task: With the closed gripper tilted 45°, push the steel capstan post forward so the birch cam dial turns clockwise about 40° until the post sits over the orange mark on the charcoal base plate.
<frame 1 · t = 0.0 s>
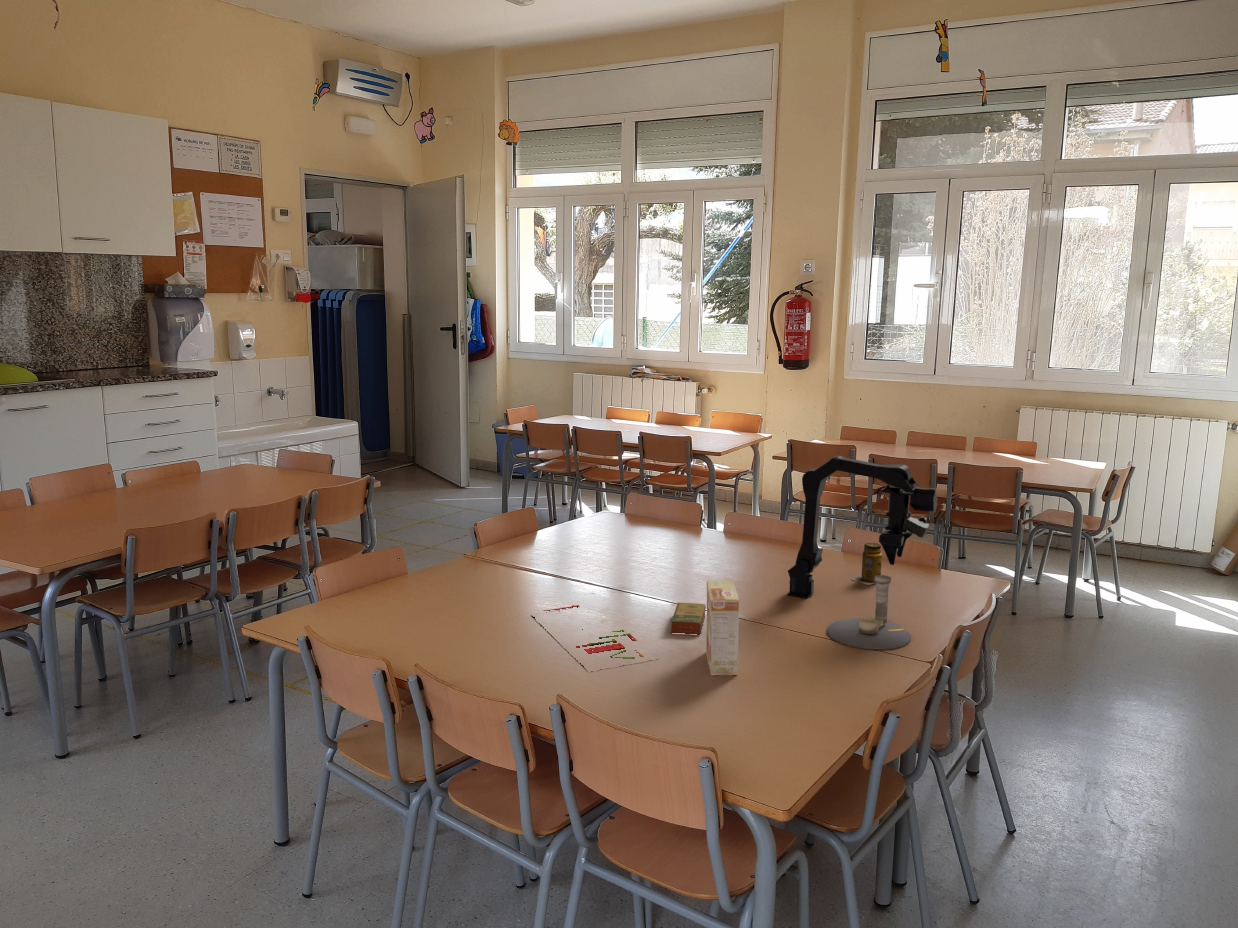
hand: (895, 560, 260), 15 cm above the table, tool pointing down, fingers open, 9 cm apart
dial plate: (868, 634, 242), on the table
carton: (688, 626, 251), on the table
condiment: (868, 581, 290), on the table
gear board: (590, 638, 243), on the table
cam dial: (875, 604, 244), point 8 cm above the table, hinge at 0.0°
coffeecake box: (721, 664, 224), on the table
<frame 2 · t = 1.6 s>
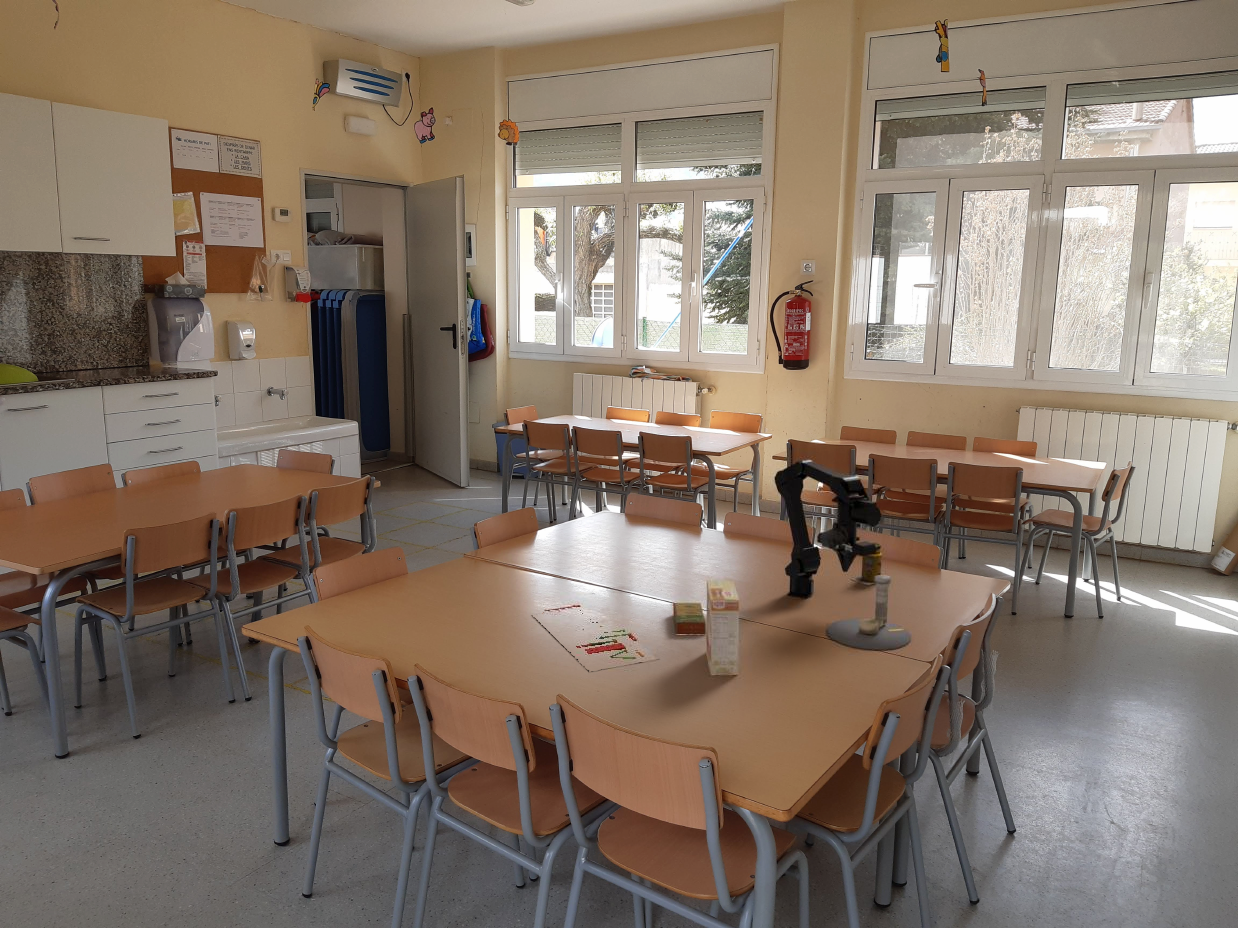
hand: (845, 571, 259), 12 cm above the table, tool pointing down, fingers closed
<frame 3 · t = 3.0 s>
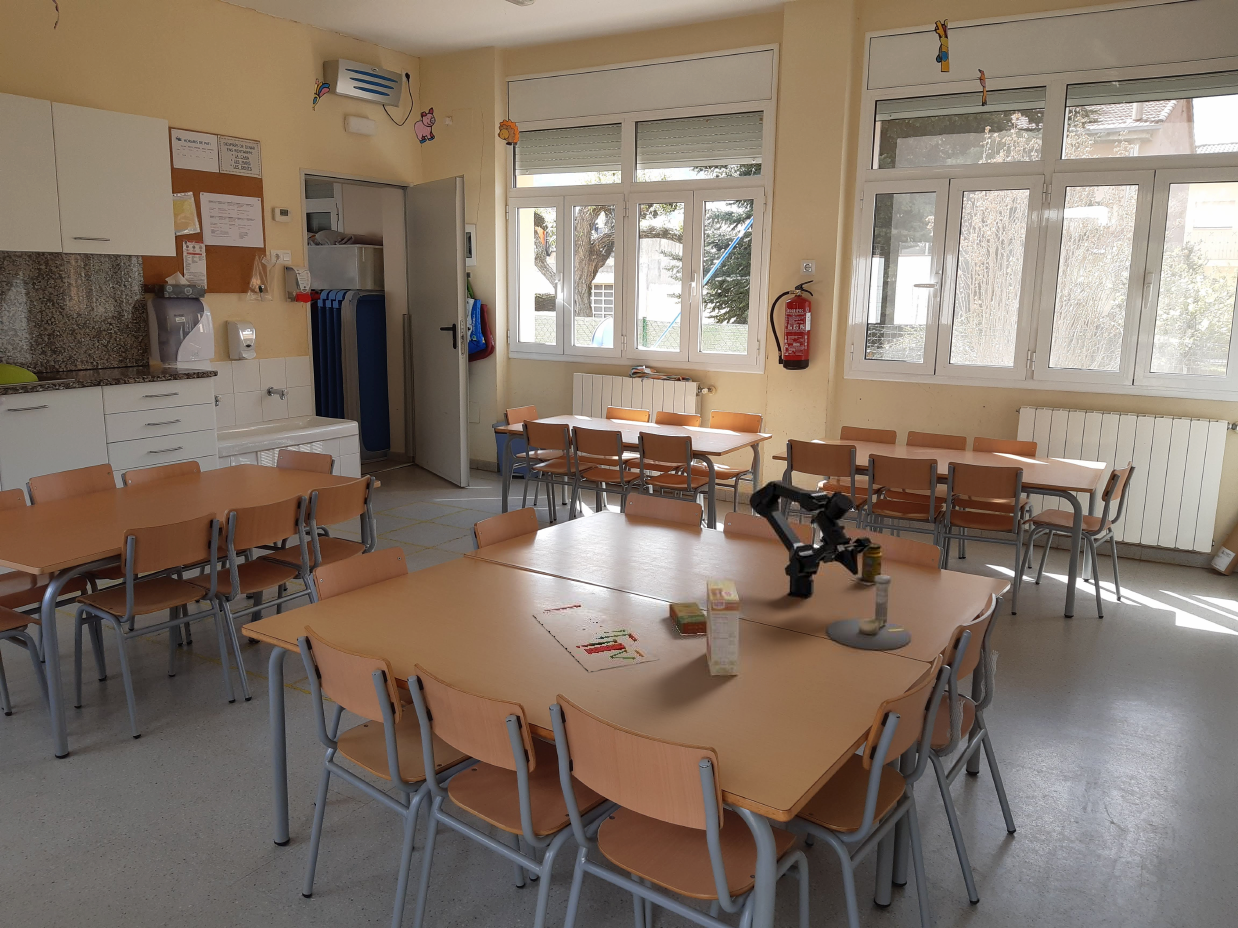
hand: (856, 574, 255), 12 cm above the table, tool tilted 45°, fingers closed
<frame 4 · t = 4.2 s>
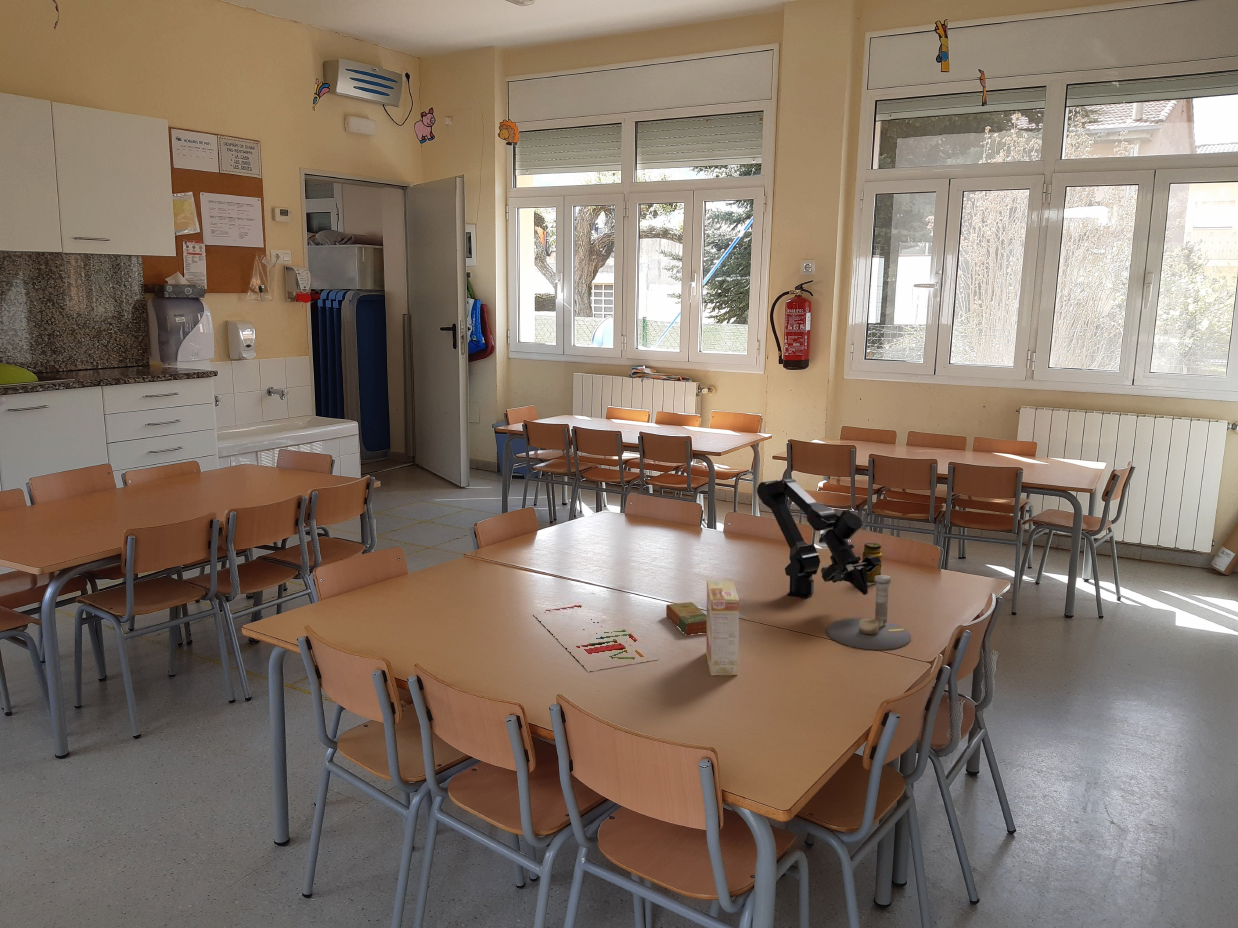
hand: (866, 594, 252), 8 cm above the table, tool tilted 45°, fingers closed
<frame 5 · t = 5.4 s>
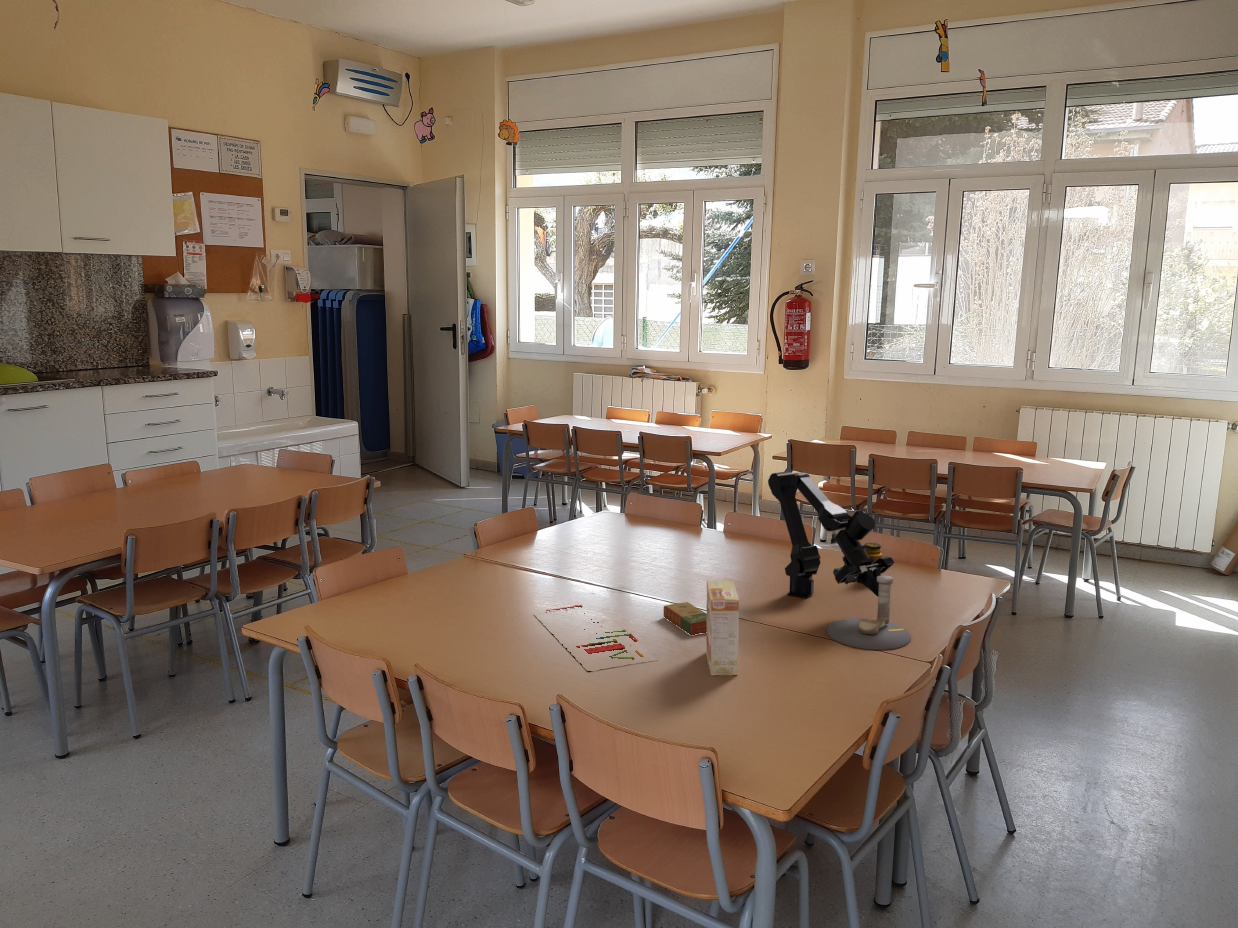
hand: (879, 595, 248), 8 cm above the table, tool tilted 45°, fingers closed, pressing on cam dial
cam dial: (876, 604, 244), point 8 cm above the table, hinge at -4.7°, touching gripper
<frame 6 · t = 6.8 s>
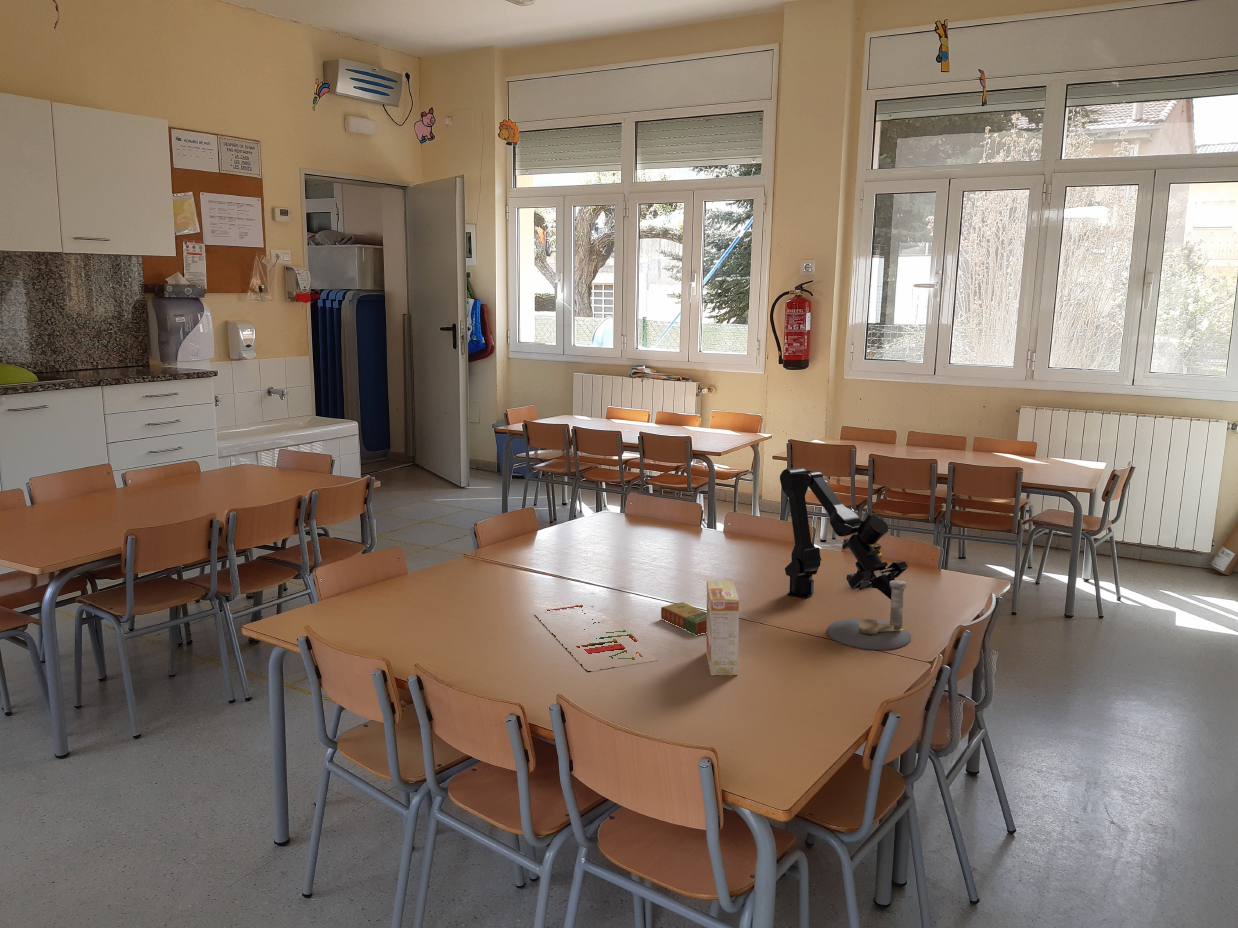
hand: (895, 600, 244), 8 cm above the table, tool tilted 45°, fingers closed, pressing on cam dial
cam dial: (882, 606, 242), point 8 cm above the table, hinge at -39.7°, touching gripper
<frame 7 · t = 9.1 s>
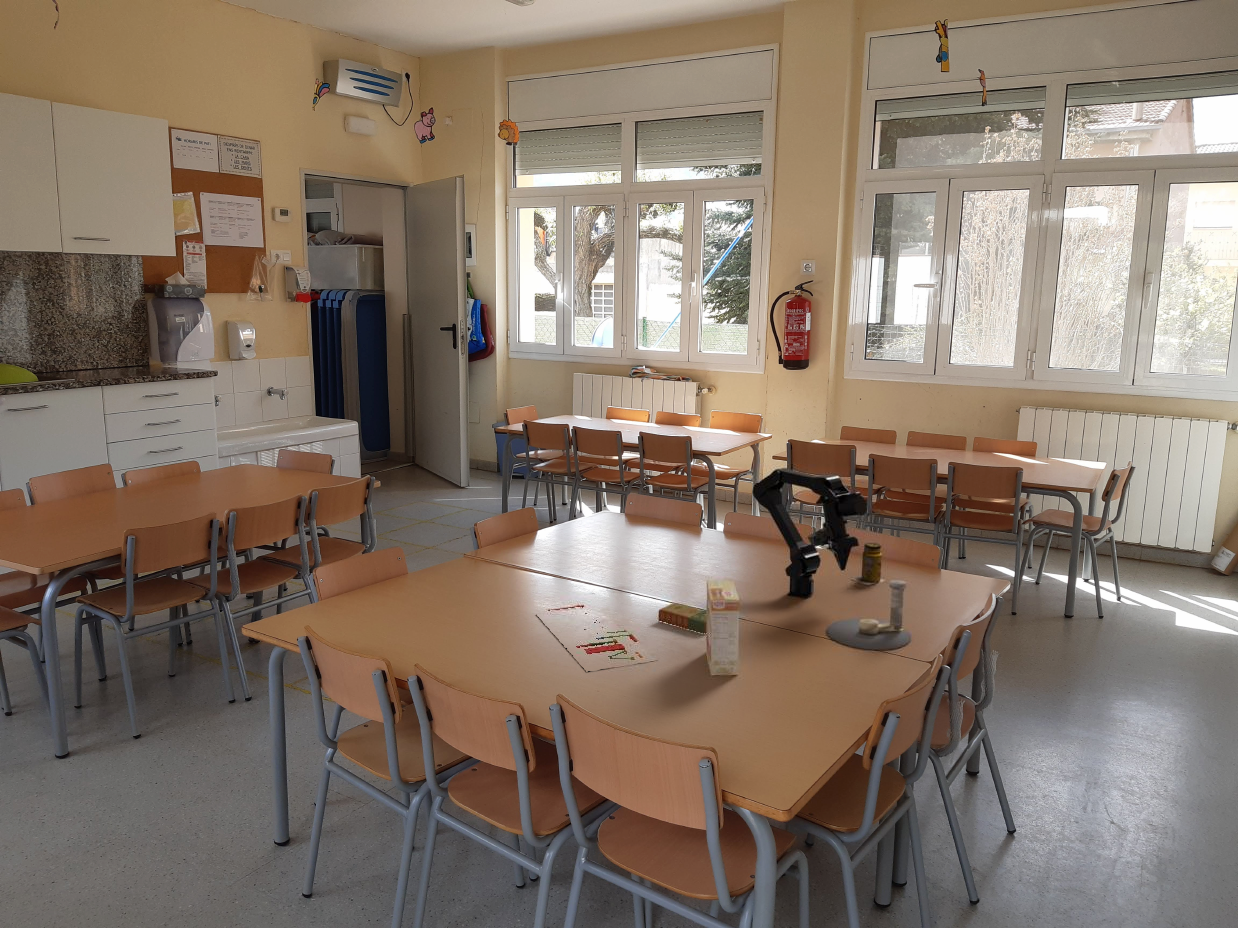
hand: (842, 570, 263), 11 cm above the table, tool pointing down, fingers closed
cam dial: (882, 606, 242), point 8 cm above the table, hinge at -39.7°
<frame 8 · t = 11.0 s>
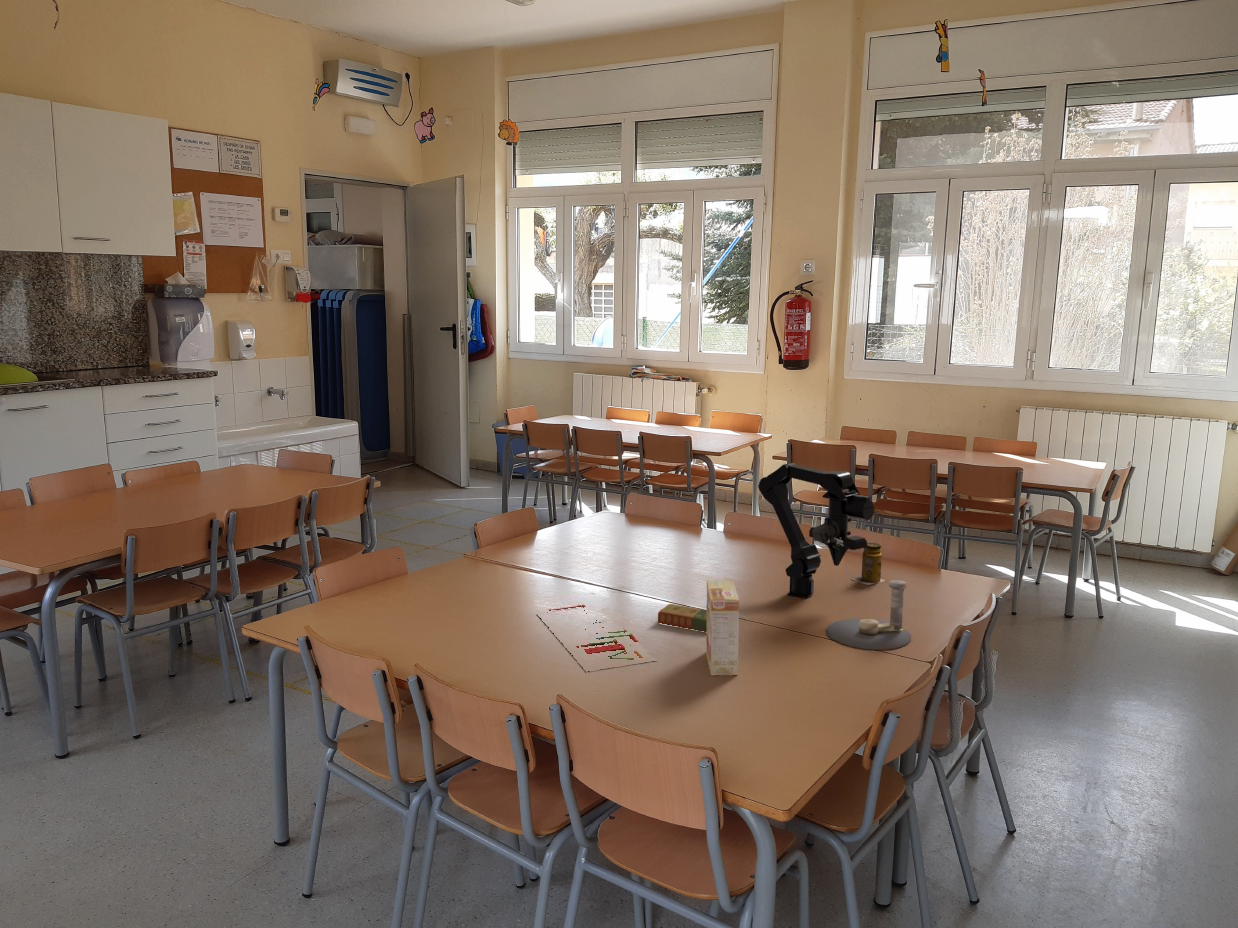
hand: (836, 565, 265), 12 cm above the table, tool pointing down, fingers closed
at the end: cam dial at -40° (first picture: +0°) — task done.
